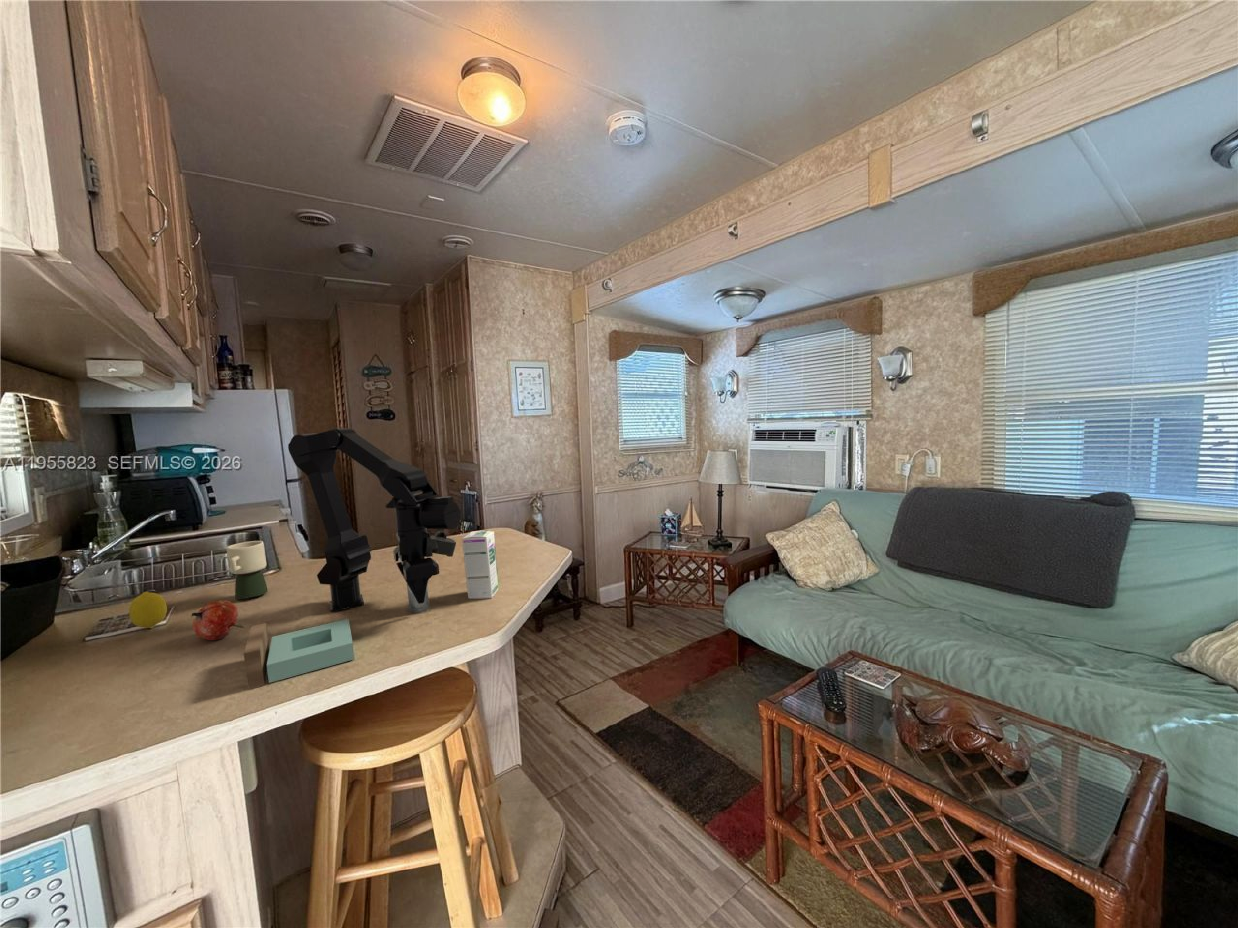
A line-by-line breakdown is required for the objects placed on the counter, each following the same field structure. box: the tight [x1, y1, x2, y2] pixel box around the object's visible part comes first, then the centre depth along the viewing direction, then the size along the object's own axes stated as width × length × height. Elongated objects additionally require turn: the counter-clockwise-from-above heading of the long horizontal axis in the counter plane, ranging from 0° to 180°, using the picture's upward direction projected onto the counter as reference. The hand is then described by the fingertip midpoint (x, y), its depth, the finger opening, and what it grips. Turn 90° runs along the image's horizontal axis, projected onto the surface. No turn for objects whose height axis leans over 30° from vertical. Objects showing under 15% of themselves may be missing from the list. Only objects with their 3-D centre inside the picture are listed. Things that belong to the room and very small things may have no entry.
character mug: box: [226, 540, 269, 600], centre depth 114 cm, size 11×7×13 cm, turn 8°
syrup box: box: [461, 530, 500, 600], centre depth 109 cm, size 6×6×14 cm
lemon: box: [128, 591, 168, 629], centre depth 98 cm, size 6×6×8 cm
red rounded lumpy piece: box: [191, 599, 243, 641], centre depth 93 cm, size 7×7×10 cm
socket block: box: [267, 618, 355, 684], centre depth 83 cm, size 12×12×3 cm
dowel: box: [406, 583, 430, 615], centre depth 102 cm, size 4×4×8 cm
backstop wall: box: [243, 622, 270, 691], centre depth 79 cm, size 12×2×6 cm, turn 33°
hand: (418, 598), depth 102 cm, fingers open, 6 cm apart
